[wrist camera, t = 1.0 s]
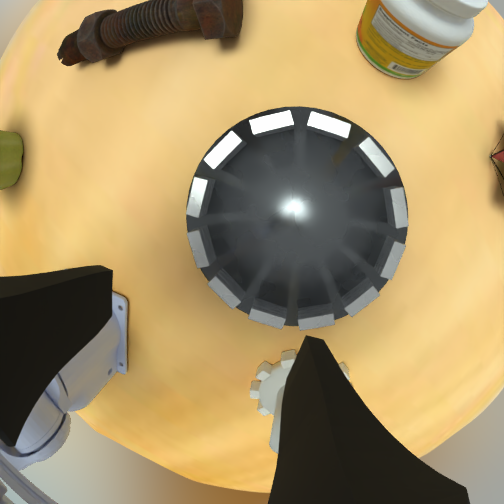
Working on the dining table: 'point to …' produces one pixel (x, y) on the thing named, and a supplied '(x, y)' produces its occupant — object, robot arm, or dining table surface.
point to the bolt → (148, 26)
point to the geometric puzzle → (498, 158)
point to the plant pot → (10, 158)
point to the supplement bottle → (414, 32)
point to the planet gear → (275, 390)
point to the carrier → (297, 217)
